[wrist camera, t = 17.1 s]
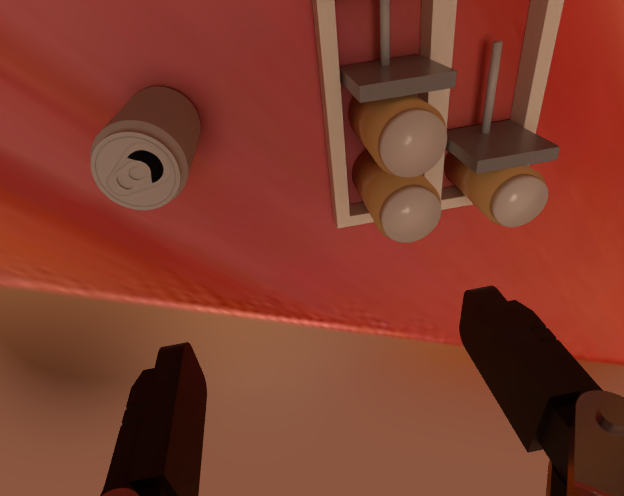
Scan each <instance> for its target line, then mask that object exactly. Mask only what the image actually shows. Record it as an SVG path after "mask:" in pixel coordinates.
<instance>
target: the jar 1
mask: <svg viewBox="0 0 624 496" xmlns="http://www.w3.org/2000/svg"><path fill="white" fill-rule="evenodd" d="M348 120H349V123H350V126H351V128H352V129H353V131H354V132H355V134H356V135H357V136H358V138H359V139H360V141H361V142H362V143H363V145H364V146H365V147H366V149H367V150H368V151H369V153H370V154H371V156H372V157H373V158H374V160H375V161H376V162H377V164H378V165H379V166H380V168H381V169H382V170H384V171H385V172H386V173H388V174H390V175H393V176H397V177H415V176H419V175H422V174H424V173H426V172H427V171H429V170H430V169H431V168H433V167H434V166H435V165H436V164H437V163H438V161H439V160H440V159H441V157H442V155H443V153H444V151H445V148H446V144H447V130H446V124H445V121H444V118H443V117H442V115H441V113H440V112H439V111H438V110H437V109H435V108H434V107H433V106H431V105H430V104H428V103H427V102H425V101H424V100H422V99H421V98H419V97H418V96H416V95H415V94H412V95H406V96H400V97H394V98H388V99H382V100H375V101H369V102H363V103H360V102H359V101H358V100H357V99H356V98H355V97H354V96H352V98H351V101H350V103H349V107H348Z"/></svg>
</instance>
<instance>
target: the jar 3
mask: <svg viewBox="0 0 624 496" xmlns="http://www.w3.org/2000/svg"><path fill="white" fill-rule="evenodd" d="M444 172H445V175H446V177H447V178H448V179H449V180H450V181H451V182H452V183H453V184H454V185H455V186H456V187H457V188H458V189H459V190H460V191H461V192H462V193H463V194H464V195H465V196H466V197H467V198H468V199H469V200H470V201H471V202H472V203H473V204H474V205H475V206H476V207H477V208H478V209H479V210H480V211H481V212H482V213H483V214H484V215H485V216H486V217H488V218H489V219H490V220H491V221H492V222H493V223H495V224H498V225H504V226H507V227H517V226H521V225H524V224H526V223H528V222H530V221H531V220H533V219H534V218H535V217H536V216H537V215H538V214H539V213H540V212H541V211H542V210H543V208H544V206H545V204H546V202H547V199H548V189H547V186H546V185H545V181H544V179H543V177H542V176H541V174H539V173H538V172H537V171H535V170H533V169H532V168H530V167H529V166H527V165H524V166H518V167H513V168H507V169H501V170H495V171H490V172H484V173H478V174H476V173H474V172H473V171H472V170H471V169H470V168H468V167H467V166H466V165H465V164H464V163H462V162H461V161H460V160H459V159H458V158H456V157H455V156H454V155H453V154H452V153H450V152H448V154H447V156H446V158H445V162H444Z"/></svg>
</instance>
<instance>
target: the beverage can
mask: <svg viewBox="0 0 624 496" xmlns="http://www.w3.org/2000/svg"><path fill="white" fill-rule="evenodd" d="M200 130H201V125H200V120H199V116H198V113H197V111H196V109H195V107H194V106H193V105H192V103H191V102H190V101H189V100H188V99H187V98H186V97H185V96H183V95H182V94H181V93H179V92H177V91H175V90H173V89H170V88H167V87H160V86H155V87H148V88H145V89H143V90H141V91H139V92H138V93H136V94H135V95H134V96H133V97H132V98H131V100H130V101H129V102H128V103H127V104H126V105H125V106H124V107H123V108H122V109H121V110H120V111H119V112H118V113H117V114H116V115H115V117H114V118H113V119H112V120H111V121H110V122H109V123H108V124H107V125H106V126H105V127H104V128H103V129H102V130H101V131H100V133H99V134H98V135H97V136H96V138H95V139H94V142H93V144H92V147H91V154H90V156H91V171H92V175H93V178H94V180H95V182H96V184H97V186H98V187H99V188H100V190H101V191H102V192H103V193H104V194H105V195H106V196H107V197H108V198H110V199H111V200H112V201H114V202H116V203H117V204H119V205H122V206H124V207H127V208H131V209H136V210H151V209H156V208H159V207H161V206H163V205H165V204H167V203H168V202H169V201H171V200H173V199H174V198H175V197H177V196H178V195H179V194H180V192H181V191H182V190H183V188H184V186H185V184H186V182H187V178H188V175H189V171H190V168H191V164H192V161H193V157H194V154H195V150H196V147H197V143H198V140H199V136H200Z"/></svg>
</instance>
